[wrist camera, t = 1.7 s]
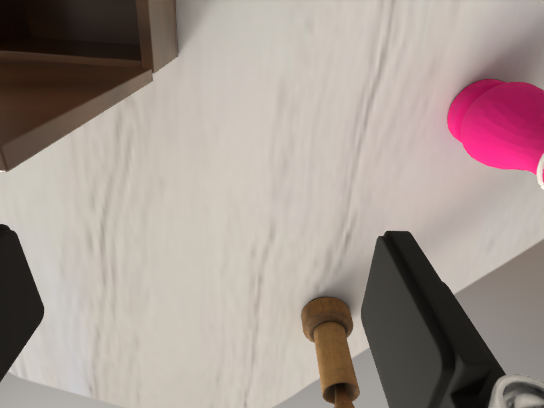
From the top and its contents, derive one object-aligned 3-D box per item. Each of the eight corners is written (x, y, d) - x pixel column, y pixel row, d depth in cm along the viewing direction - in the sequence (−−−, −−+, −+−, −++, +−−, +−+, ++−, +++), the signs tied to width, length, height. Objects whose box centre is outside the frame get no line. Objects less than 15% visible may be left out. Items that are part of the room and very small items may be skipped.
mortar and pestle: (290, 313, 48) (305, 465, 32) (330, 288, 46) (366, 438, 30) (320, 338, 50) (348, 491, 35) (359, 316, 48) (406, 467, 33)
